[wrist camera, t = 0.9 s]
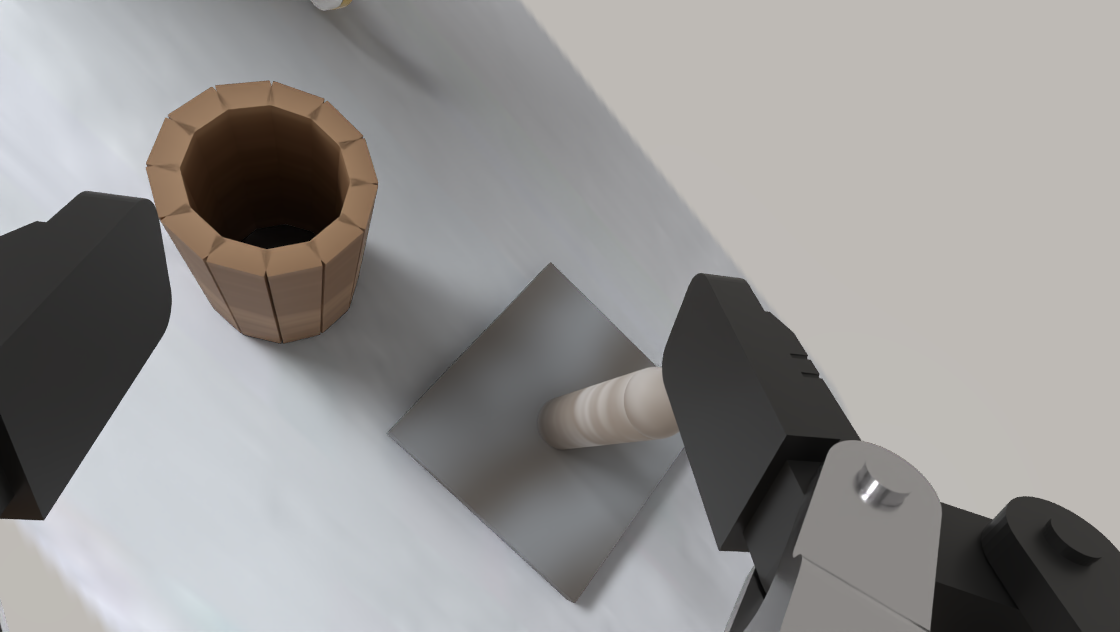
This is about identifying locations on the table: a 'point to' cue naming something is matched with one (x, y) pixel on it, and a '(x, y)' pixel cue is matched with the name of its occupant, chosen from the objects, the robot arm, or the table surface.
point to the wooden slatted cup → (266, 204)
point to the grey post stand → (548, 431)
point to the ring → (330, 4)
